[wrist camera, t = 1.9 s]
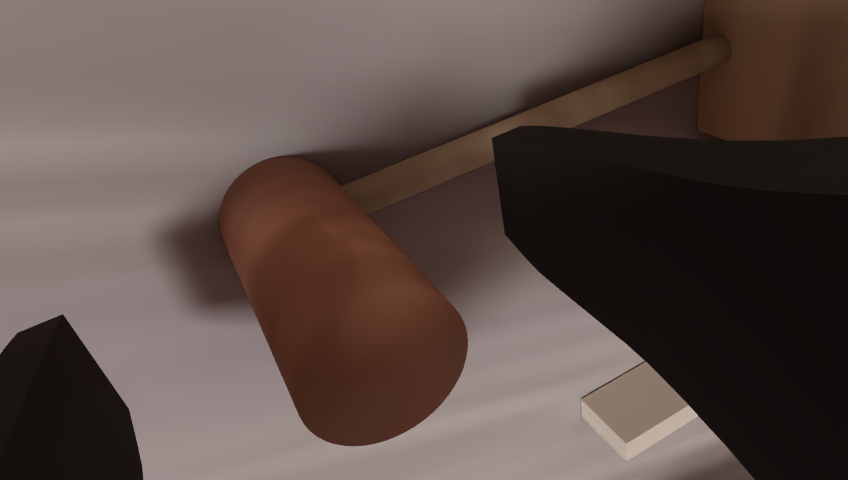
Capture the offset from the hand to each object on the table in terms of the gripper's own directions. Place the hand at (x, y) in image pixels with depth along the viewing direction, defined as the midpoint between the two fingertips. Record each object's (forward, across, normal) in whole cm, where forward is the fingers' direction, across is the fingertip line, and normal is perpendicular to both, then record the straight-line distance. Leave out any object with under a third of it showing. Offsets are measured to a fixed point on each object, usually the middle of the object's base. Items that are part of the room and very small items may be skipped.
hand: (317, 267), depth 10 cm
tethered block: (+2, -7, 0) cm, 7 cm away
